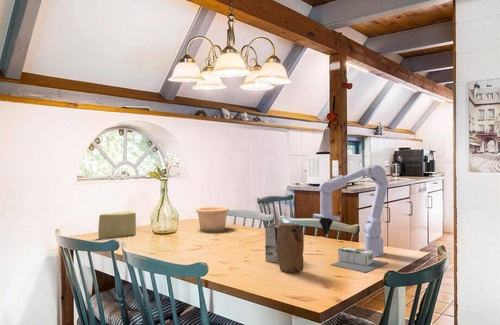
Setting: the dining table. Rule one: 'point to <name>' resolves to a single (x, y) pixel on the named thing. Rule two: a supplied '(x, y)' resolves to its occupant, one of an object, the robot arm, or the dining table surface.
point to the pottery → (212, 218)
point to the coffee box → (271, 243)
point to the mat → (359, 266)
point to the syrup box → (355, 255)
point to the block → (290, 247)
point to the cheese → (117, 225)
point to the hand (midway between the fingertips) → (326, 233)
